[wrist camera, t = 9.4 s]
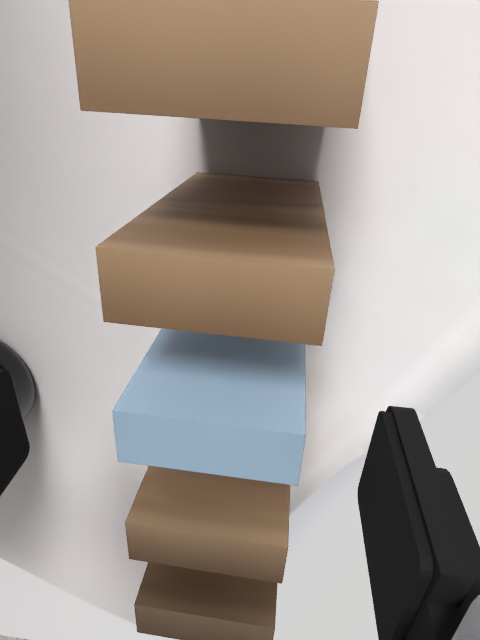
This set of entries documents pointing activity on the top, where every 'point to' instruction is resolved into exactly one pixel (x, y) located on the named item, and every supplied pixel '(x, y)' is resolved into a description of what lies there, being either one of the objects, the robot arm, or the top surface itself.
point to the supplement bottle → (18, 378)
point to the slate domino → (216, 407)
